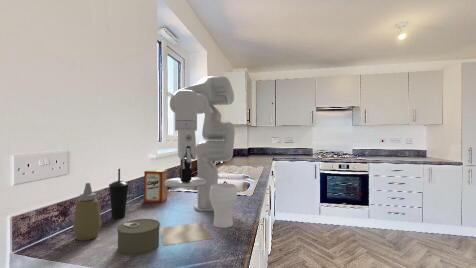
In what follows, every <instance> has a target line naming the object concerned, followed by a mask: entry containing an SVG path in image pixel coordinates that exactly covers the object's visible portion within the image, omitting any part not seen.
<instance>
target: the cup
mask: <svg viewBox="0 0 476 268" xmlns="http://www.w3.org/2000/svg"><path fill="white" fill-rule="evenodd" d="M237 190H238V189H237V186H236V184H234V183H226V182H225V183H224V182H223V183H218V184H213V185H211V189H210V202H211V205H212V207H213V209H214V211H213V215H214V216H213V221H212V222H213V223H212V225H213V226H214V227H216V228H225V229H226V228H230V227H232V226H233V225H234V220H233V211H234V207H235V205H236V203H237V199H238V191H237Z"/></svg>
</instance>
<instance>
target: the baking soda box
mask: <svg viewBox="0 0 476 268" xmlns="http://www.w3.org/2000/svg"><path fill="white" fill-rule="evenodd" d="M143 176H144V178H143V179H144V180H143V184H144V185H143V186H144V189H143V191H144V192H143V193H144V194H143V202H144V203H157V204H158V203H161V204H162V203H164V202H165V201H168V186H165V180H168V169H158V168H156V169H148V170H145V171H144V172H143Z"/></svg>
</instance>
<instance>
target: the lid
mask: <svg viewBox="0 0 476 268" xmlns="http://www.w3.org/2000/svg"><path fill="white" fill-rule="evenodd" d="M182 169H183V166H181V179H180V177H174V178H173V177H172V178H169V179H168V178H167V180H165V186H167V188H168V187H169V188H176V189H179V188H181V189H186V188H197V187H198V186H202V185H205V184H206V180H205V179H202V178H198V177H195V176H194V177H192V176H191V180H188V181H182Z"/></svg>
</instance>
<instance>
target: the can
mask: <svg viewBox="0 0 476 268" xmlns="http://www.w3.org/2000/svg"><path fill="white" fill-rule="evenodd" d="M160 227H161V223H160V221H158V220H155V219H151V218H140V219H133V220H129V221H128V220H127V221H125V222H123V223H121V224H119V225H118V226H117V228H116V231H117V252H118V253H119V254H121V255H123V256H130V257H131V256H133V257H134V256H135V257H136V256H142V255H146V254H149V253H151V252H153V251H155V250H157V249H158V248H159V246H160Z"/></svg>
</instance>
